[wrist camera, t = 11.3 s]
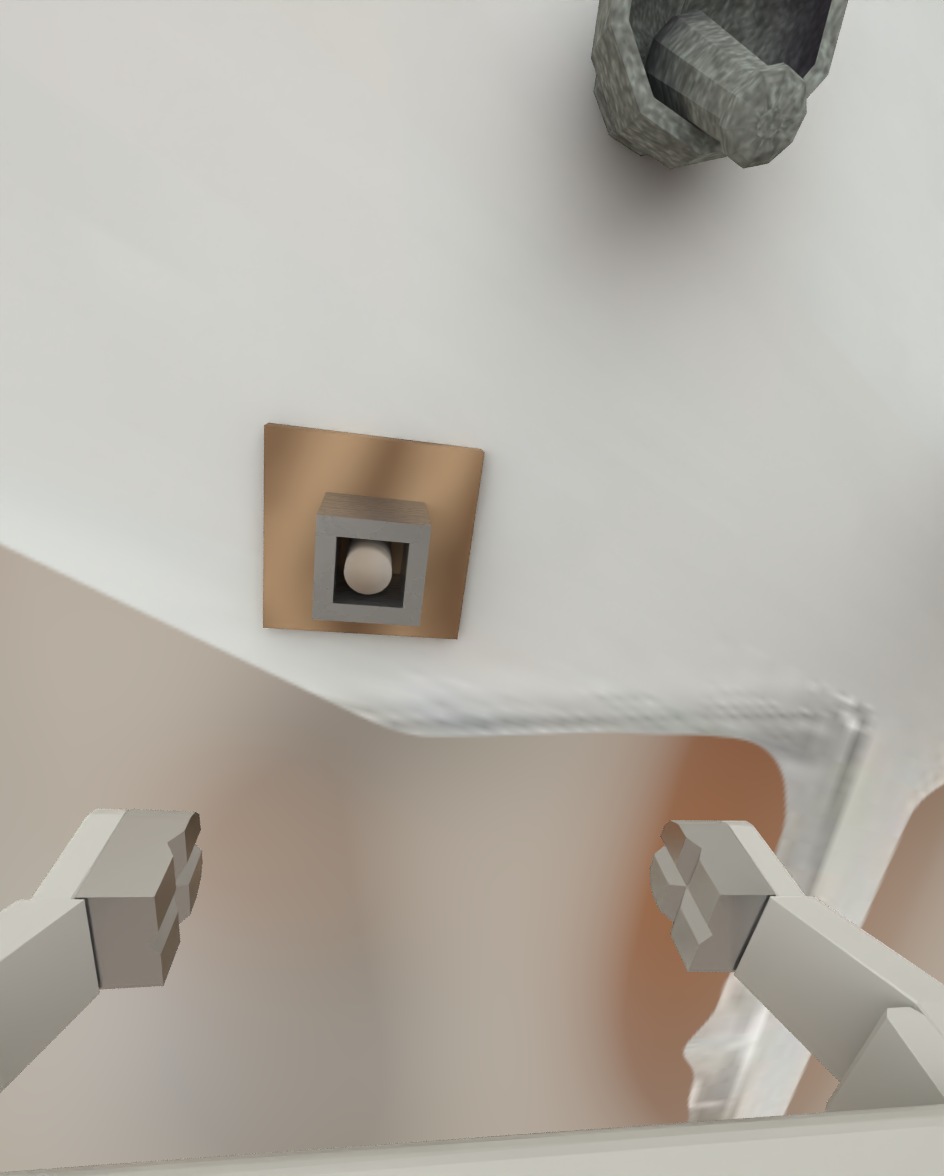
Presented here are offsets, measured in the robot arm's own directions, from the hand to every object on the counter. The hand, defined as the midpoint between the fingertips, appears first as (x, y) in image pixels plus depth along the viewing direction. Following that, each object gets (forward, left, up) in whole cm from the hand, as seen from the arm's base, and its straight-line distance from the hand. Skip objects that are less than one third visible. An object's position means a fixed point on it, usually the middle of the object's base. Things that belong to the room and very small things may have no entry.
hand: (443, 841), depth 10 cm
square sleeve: (+2, +3, -25) cm, 25 cm away
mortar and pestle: (-10, -21, -26) cm, 35 cm away
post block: (+2, +3, -26) cm, 26 cm away
